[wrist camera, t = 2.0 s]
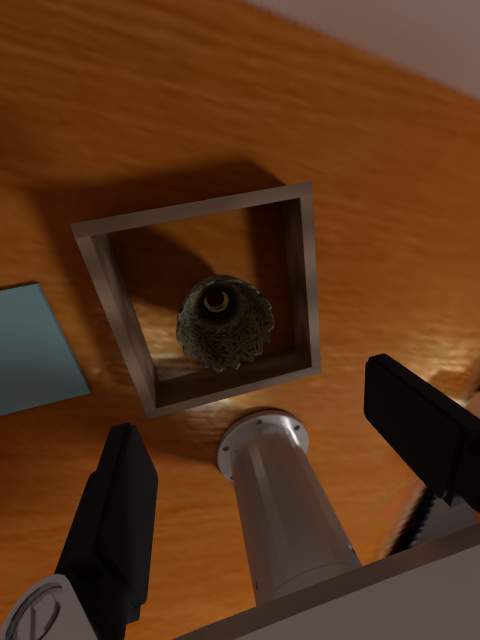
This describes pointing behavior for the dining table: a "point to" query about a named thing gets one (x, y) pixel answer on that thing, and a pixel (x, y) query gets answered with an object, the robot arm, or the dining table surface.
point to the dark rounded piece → (224, 323)
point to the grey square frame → (210, 382)
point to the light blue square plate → (34, 353)
